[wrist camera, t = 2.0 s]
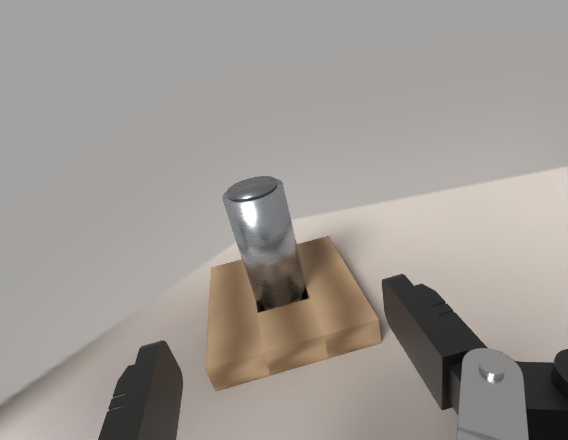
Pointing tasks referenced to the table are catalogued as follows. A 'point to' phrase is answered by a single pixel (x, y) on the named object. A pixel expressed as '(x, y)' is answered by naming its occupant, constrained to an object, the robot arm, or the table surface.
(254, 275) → the brushed metal cylinder
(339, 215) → the table surface
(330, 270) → the housing
